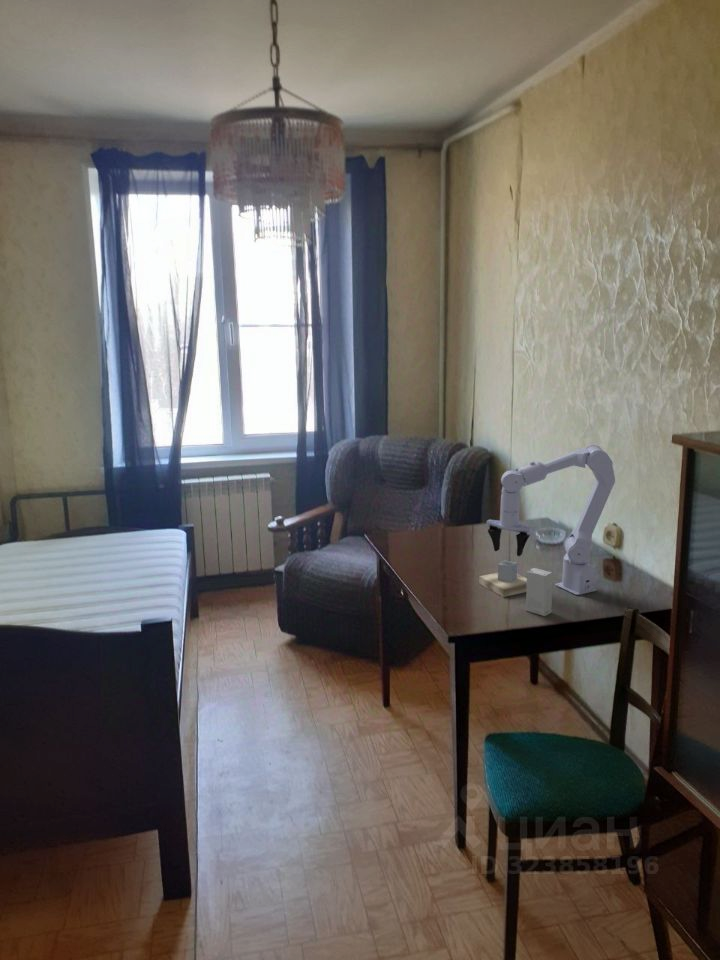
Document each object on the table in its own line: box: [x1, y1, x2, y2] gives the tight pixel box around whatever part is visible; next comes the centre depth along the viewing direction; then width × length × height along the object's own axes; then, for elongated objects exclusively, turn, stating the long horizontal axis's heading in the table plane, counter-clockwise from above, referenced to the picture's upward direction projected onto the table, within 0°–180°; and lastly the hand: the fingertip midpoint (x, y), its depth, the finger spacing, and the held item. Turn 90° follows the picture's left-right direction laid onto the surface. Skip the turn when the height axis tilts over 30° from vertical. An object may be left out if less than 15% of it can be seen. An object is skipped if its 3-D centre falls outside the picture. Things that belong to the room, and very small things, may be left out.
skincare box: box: [525, 567, 554, 617], centre depth 195 cm, size 6×4×12 cm
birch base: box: [478, 572, 527, 598], centre depth 215 cm, size 12×12×2 cm
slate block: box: [497, 559, 519, 583], centre depth 214 cm, size 4×4×5 cm
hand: (508, 552), depth 215 cm, fingers open, 7 cm apart
